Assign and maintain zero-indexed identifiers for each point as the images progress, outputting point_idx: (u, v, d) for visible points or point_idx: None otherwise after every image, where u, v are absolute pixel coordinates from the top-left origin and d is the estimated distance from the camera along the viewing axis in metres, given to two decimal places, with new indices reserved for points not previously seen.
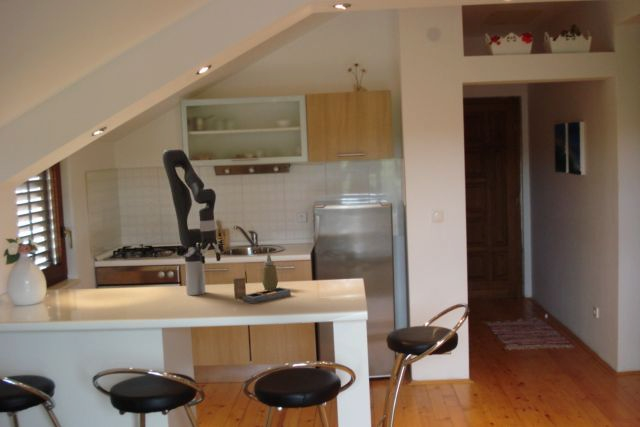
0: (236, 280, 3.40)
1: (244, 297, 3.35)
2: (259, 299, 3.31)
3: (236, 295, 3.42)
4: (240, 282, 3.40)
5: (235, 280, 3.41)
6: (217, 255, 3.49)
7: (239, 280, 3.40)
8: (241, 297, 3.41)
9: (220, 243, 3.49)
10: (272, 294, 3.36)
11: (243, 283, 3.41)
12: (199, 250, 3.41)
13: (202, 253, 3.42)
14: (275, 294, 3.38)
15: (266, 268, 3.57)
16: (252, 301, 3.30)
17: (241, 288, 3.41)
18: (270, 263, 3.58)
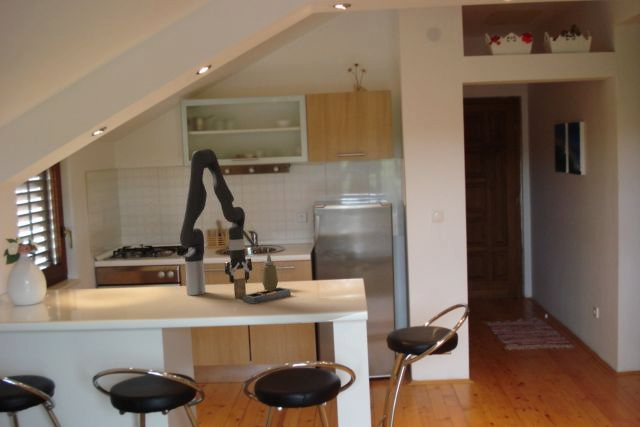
0: (236, 280, 3.40)
1: (244, 297, 3.35)
2: (259, 299, 3.31)
3: (236, 295, 3.42)
4: (240, 282, 3.40)
5: (235, 280, 3.41)
6: (246, 274, 3.44)
7: (239, 280, 3.40)
8: (241, 297, 3.41)
9: (249, 262, 3.44)
10: (272, 294, 3.36)
11: (243, 283, 3.41)
12: (228, 269, 3.36)
13: (231, 272, 3.37)
14: (275, 294, 3.38)
15: (266, 268, 3.57)
16: (252, 301, 3.30)
17: (241, 288, 3.41)
18: (270, 263, 3.58)
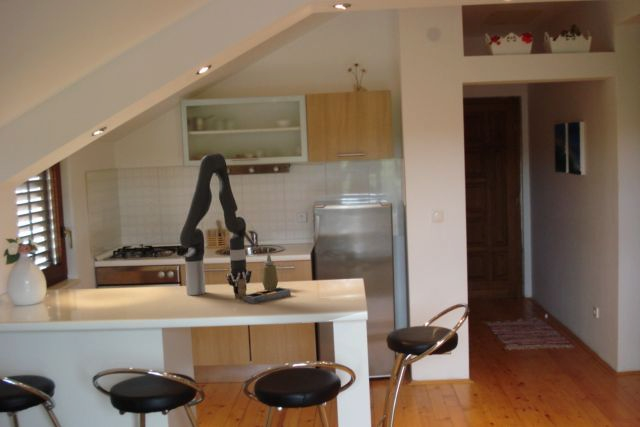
0: None
1: (244, 297, 3.35)
2: (259, 299, 3.31)
3: (236, 295, 3.42)
4: (240, 282, 3.40)
5: None
6: None
7: (239, 280, 3.40)
8: (241, 297, 3.41)
9: (249, 274, 3.44)
10: (272, 294, 3.36)
11: (243, 283, 3.41)
12: (231, 281, 3.38)
13: (235, 284, 3.39)
14: (275, 294, 3.38)
15: (266, 268, 3.57)
16: (252, 301, 3.30)
17: (242, 288, 3.41)
18: (270, 263, 3.58)
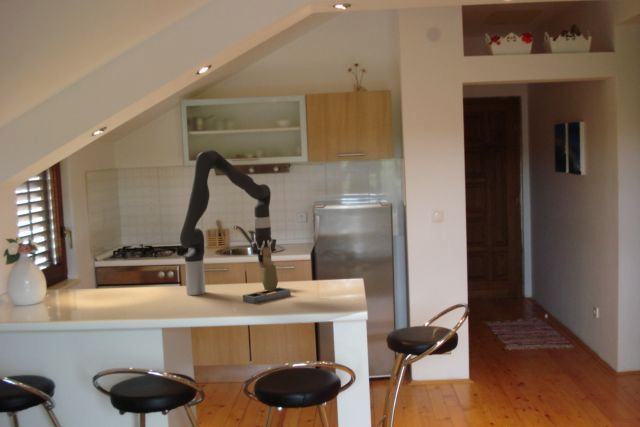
0: None
1: (244, 297, 3.35)
2: (259, 299, 3.31)
3: (261, 264, 3.37)
4: (265, 250, 3.35)
5: None
6: None
7: (264, 248, 3.35)
8: (266, 266, 3.36)
9: (273, 242, 3.40)
10: (272, 294, 3.36)
11: (268, 251, 3.37)
12: (256, 249, 3.33)
13: (260, 252, 3.35)
14: (275, 294, 3.38)
15: (266, 268, 3.57)
16: (252, 301, 3.30)
17: (266, 257, 3.36)
18: None
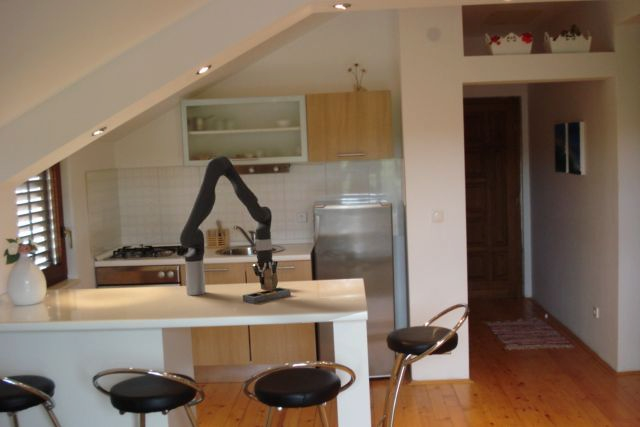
0: None
1: (244, 297, 3.35)
2: (259, 299, 3.31)
3: (262, 286, 3.38)
4: (266, 272, 3.37)
5: None
6: None
7: (265, 270, 3.36)
8: (267, 288, 3.37)
9: (275, 264, 3.41)
10: (272, 294, 3.36)
11: (269, 273, 3.38)
12: (258, 271, 3.34)
13: (261, 274, 3.36)
14: (275, 294, 3.38)
15: None
16: (252, 301, 3.30)
17: (268, 279, 3.37)
18: None
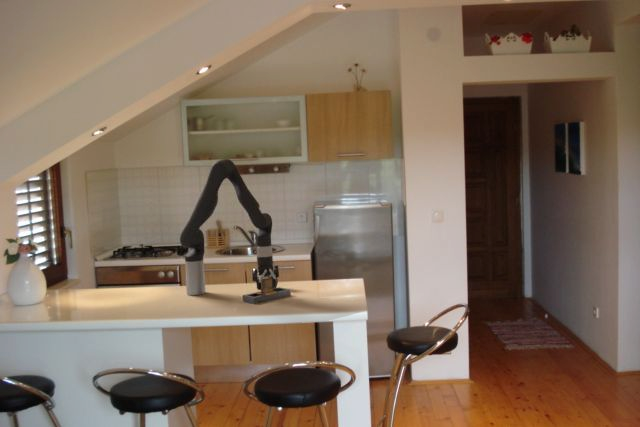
0: (263, 280, 3.37)
1: (244, 297, 3.35)
2: (259, 299, 3.31)
3: None
4: (267, 282, 3.37)
5: (262, 280, 3.38)
6: (272, 281, 3.41)
7: (266, 280, 3.37)
8: None
9: (276, 269, 3.41)
10: (272, 294, 3.36)
11: (270, 283, 3.38)
12: (256, 276, 3.34)
13: (259, 279, 3.35)
14: (275, 294, 3.38)
15: None
16: (252, 301, 3.30)
17: (268, 288, 3.38)
18: None
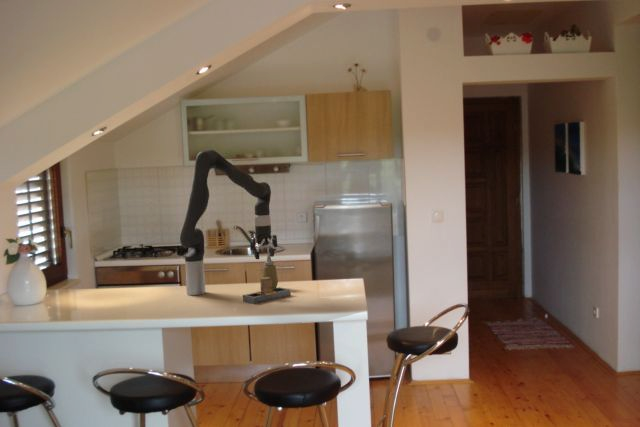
0: (263, 280, 3.37)
1: (244, 297, 3.35)
2: (259, 299, 3.31)
3: None
4: (267, 282, 3.37)
5: (262, 280, 3.38)
6: (271, 250, 3.40)
7: (266, 280, 3.37)
8: None
9: (274, 238, 3.40)
10: (272, 294, 3.36)
11: (270, 283, 3.38)
12: (254, 245, 3.32)
13: (257, 248, 3.33)
14: (275, 294, 3.38)
15: (266, 268, 3.57)
16: (252, 301, 3.30)
17: (268, 288, 3.38)
18: (270, 263, 3.58)
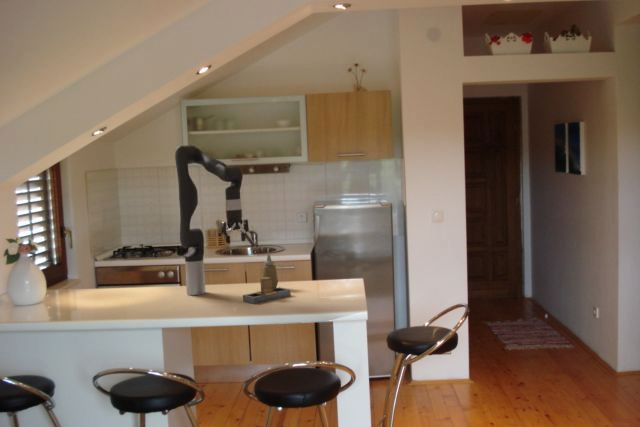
0: (263, 280, 3.37)
1: (244, 297, 3.35)
2: (259, 299, 3.31)
3: None
4: (267, 282, 3.37)
5: (262, 280, 3.38)
6: (242, 235, 3.39)
7: (266, 280, 3.37)
8: None
9: (246, 223, 3.39)
10: (272, 294, 3.36)
11: (270, 283, 3.38)
12: (224, 230, 3.32)
13: (227, 233, 3.33)
14: (275, 294, 3.38)
15: (266, 268, 3.57)
16: (252, 301, 3.30)
17: (268, 288, 3.38)
18: (270, 263, 3.58)
